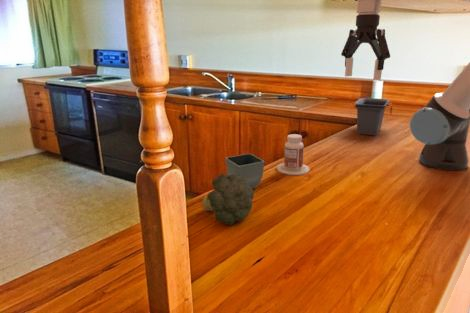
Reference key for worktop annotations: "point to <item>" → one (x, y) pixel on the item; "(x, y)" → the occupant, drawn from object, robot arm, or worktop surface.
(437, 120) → the robot arm
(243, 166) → the flower pot
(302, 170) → the coaster
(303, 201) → the worktop surface
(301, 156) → the pill bottle
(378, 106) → the storage bin
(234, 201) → the vegetable
